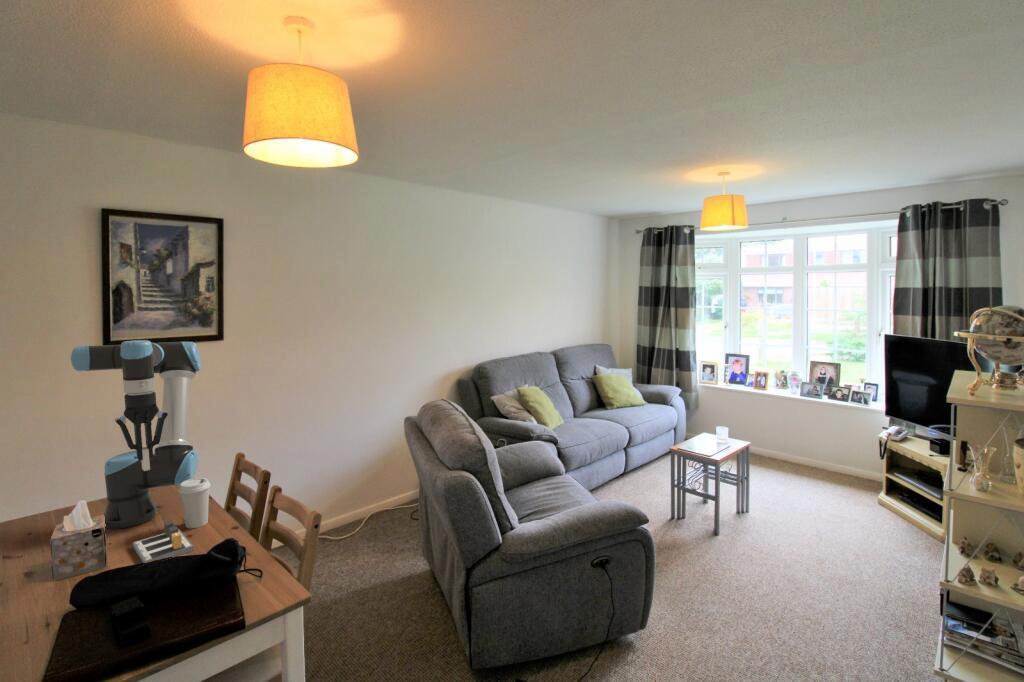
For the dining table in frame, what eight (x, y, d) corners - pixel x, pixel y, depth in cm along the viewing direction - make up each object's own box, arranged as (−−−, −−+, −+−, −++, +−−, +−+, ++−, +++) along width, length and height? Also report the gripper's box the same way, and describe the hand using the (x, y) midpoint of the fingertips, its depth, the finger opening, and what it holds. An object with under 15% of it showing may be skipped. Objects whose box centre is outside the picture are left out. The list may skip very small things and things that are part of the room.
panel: (132, 547, 160) (131, 529, 159) (179, 533, 169) (178, 516, 168) (144, 566, 149) (143, 547, 148) (193, 550, 158) (192, 532, 157)
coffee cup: (197, 531, 169) (194, 488, 168) (173, 529, 171) (170, 486, 170) (219, 519, 179) (216, 477, 177) (196, 516, 181) (193, 475, 179)
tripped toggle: (172, 546, 156) (171, 533, 156) (179, 544, 158) (178, 531, 157) (174, 549, 155) (173, 536, 154) (181, 547, 156) (181, 534, 156)
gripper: (115, 398, 144) (121, 478, 147) (169, 391, 153) (174, 466, 156) (110, 394, 149) (116, 471, 152) (162, 387, 158) (168, 460, 161)
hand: (146, 469), depth 154 cm, fingers closed
